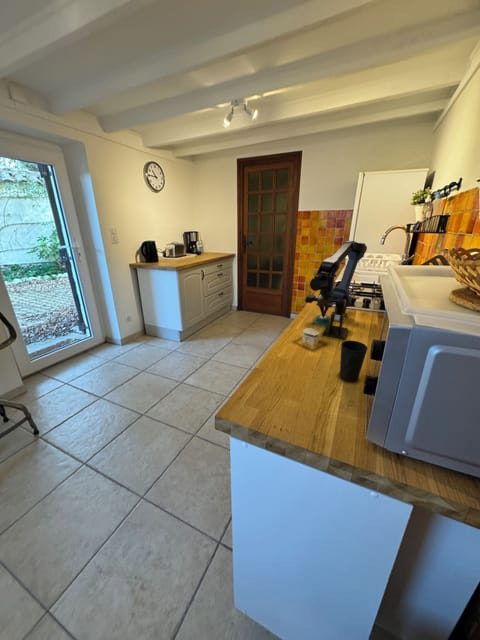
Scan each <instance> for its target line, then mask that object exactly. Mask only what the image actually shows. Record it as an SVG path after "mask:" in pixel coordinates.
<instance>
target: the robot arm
mask: <svg viewBox="0 0 480 640" xmlns="http://www.w3.org/2000/svg"><path fill="white" fill-rule="evenodd" d="M367 250H368V246H367V245H366V243H364V242H357V241H355V240H345V241H343V245H341V246H340V247H339V249H337V251H336V252H335V253H334V254H333V255H332V256H329V257H327V258H325V259H324V260H322V262H321V263H320V265H319V267H318V269H317V271H316V273H315V275H314V277H313V278H312V279H311V280H310V282H309V287H310V289H311V290H312V291H313V292H317V291H319V294H318V296H316V295H314V294H308V295H306V297H305V298H304V303H307V304H312V303H313V302H316V306H318V308H319V310H320V313H321V314H320V315H322V317H324V316H325V315H326V314H327V312H328V310H329V308H333V306H334V312H335V315H342V313H344V317H345V318H346V317H347V313H346V312H347V308H350V307H351V305H352V300H351V297H350V295H351V292H350V285H351V284H352V280H353V277H354V274H355V271H356V269H357V266H358V263H359V261H360V260H362V259H363V258H364V256H365V254H366V252H367ZM345 258H348V259H347V262H346V265H345V268H344V271H343V274H342V277H341V279H340V282H339V285H338V286H337V287H334V285H335V284H334V283H335V278H337V272H338V271H339V269H340V268H341V265H340V264H341V263H342V262H343V261H344V260H345Z"/></svg>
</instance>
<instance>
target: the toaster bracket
mask: <svg viewBox="0 0 480 640" xmlns="http://www.w3.org/2000/svg"><path fill="white" fill-rule="evenodd" d="M329 317H330V318H331V321H330V325H328V326H325V329H324V331H323V333H322V337H327V338H331V339H337V340H341V341H345V338H346V335H347V333H348V330H349V329H348V327H344V326H343V325H344V321H345V320H346V316H345V317H344V313H342V315H341V318H340V322H339V325H335V320H334V317H335V311H332V313H331V314H330V315H329Z"/></svg>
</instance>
